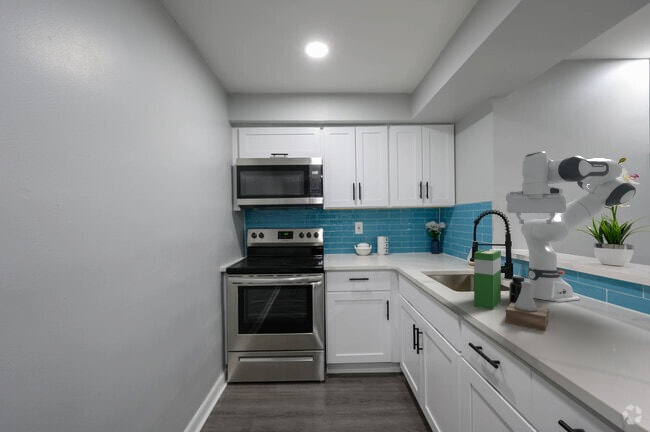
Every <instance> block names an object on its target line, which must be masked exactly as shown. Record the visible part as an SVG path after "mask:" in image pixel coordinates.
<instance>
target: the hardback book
mask: <svg viewBox="0 0 650 432" xmlns="http://www.w3.org/2000/svg"><path fill="white" fill-rule="evenodd" d="M473 255H474V256H473V257H474V259H473V261H474V263H473V264H474V268H473V269H474V272H473V273H474V274H473V275H474V277H473V278H474V279H473V280H474V284H473V287H474V288H473V296H474V298H473V304H474V305H473V306H474V307H477V308H482V309H487V310H493V311H494V309H495V308H496V307H497V306H498V305H499V303H500V302H501V300H502V298H501V294H502V293H501V292H502V289H501V287H502V286H501V285H502V282H501V281H502V272H501V270H502V268H501V267H502V250H496V251H493V250H492V251H487V250H486V249H481V250H477V251H475V252H474V254H473Z"/></svg>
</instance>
